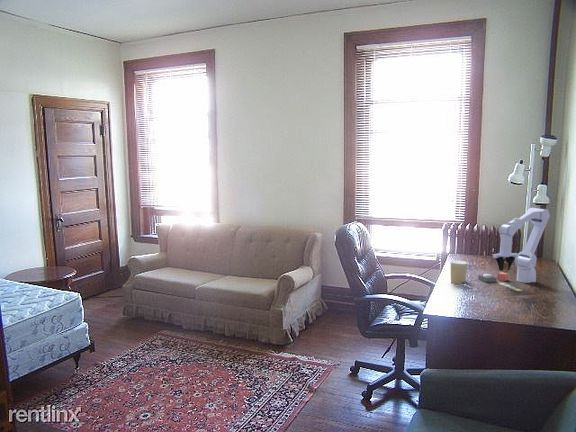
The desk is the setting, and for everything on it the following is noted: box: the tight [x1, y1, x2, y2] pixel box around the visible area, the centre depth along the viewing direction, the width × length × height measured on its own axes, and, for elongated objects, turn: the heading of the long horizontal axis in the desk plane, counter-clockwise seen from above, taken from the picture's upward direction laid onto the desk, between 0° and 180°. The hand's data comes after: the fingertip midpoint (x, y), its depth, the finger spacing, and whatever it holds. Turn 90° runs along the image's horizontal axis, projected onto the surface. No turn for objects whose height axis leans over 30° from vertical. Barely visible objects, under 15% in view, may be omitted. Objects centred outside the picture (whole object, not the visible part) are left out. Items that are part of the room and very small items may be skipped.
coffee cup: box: [449, 259, 468, 285], centre depth 258 cm, size 9×9×12 cm
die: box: [497, 272, 509, 282], centre depth 259 cm, size 4×4×4 cm
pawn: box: [499, 261, 509, 273], centre depth 249 cm, size 4×4×5 cm
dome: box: [482, 273, 493, 278], centre depth 257 cm, size 5×5×3 cm
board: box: [477, 274, 523, 292], centre depth 250 cm, size 19×25×4 cm
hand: (504, 270), depth 250 cm, fingers closed on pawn, 4 cm apart
